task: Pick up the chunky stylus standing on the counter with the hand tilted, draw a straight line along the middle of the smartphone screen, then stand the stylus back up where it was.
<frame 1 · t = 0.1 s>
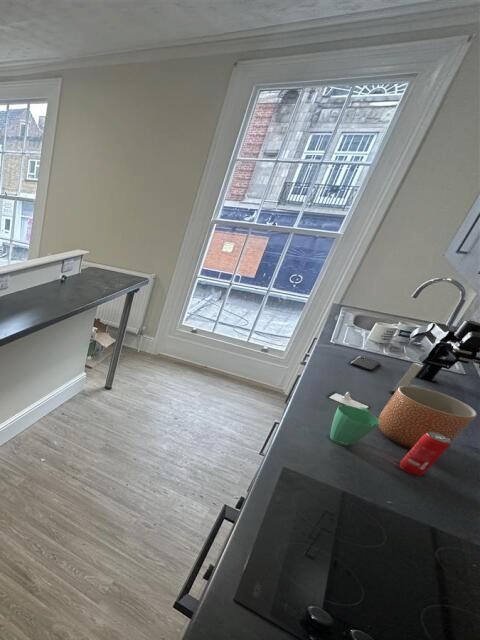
hand: (473, 364, 142), 17 cm above the worktop, tool horizontal, fingers open, 9 cm apart
smartphone: (364, 364, 176), on the worktop
beverage can: (409, 470, 114), on the worktop
adhesive hook: (348, 402, 145), on the worktop
planter: (402, 440, 127), on the worktop
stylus: (395, 394, 154), on the worktop
mug: (341, 438, 125), on the worktop
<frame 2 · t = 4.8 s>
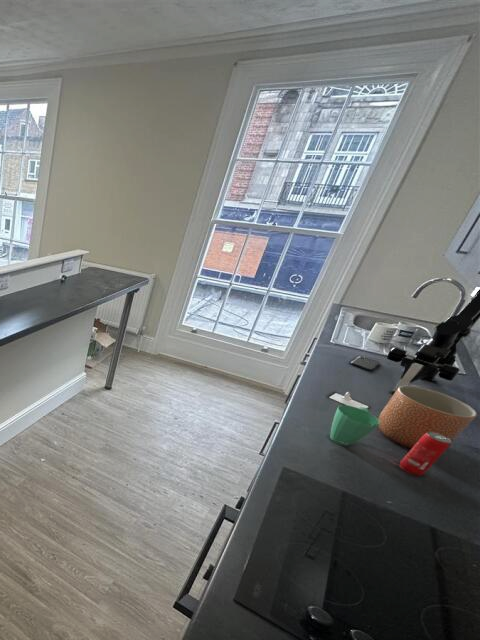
hand: (405, 380, 150), 7 cm above the worktop, tool tilted 45°, fingers closed on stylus, 2 cm apart
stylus: (395, 394, 154), on the worktop, touching gripper
everything else where it was.
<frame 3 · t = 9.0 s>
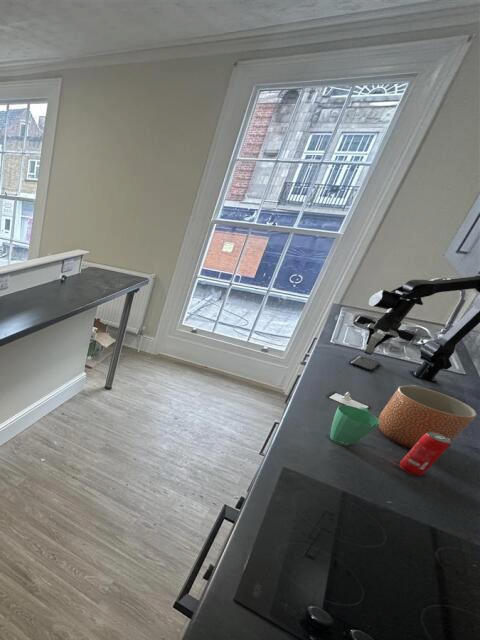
hand: (370, 346, 169), 10 cm above the worktop, tool pointing down, fingers closed on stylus, 2 cm apart
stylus: (369, 352, 174), point 6 cm above the worktop, tilted 42°, touching gripper
everything else where it was.
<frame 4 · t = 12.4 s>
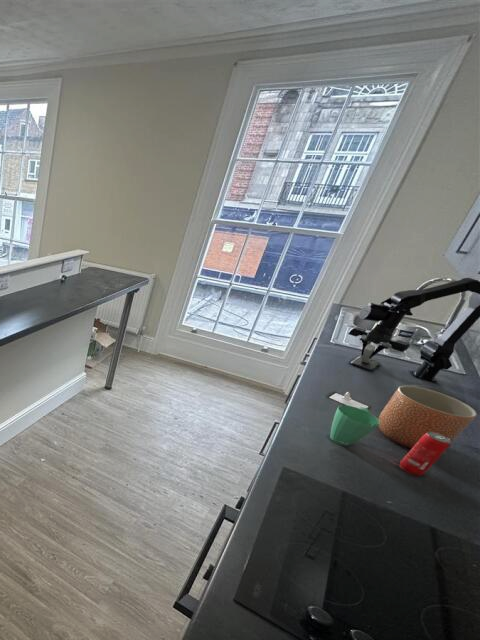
hand: (365, 356, 171), 5 cm above the worktop, tool pointing down, fingers closed on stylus, 2 cm apart
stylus: (366, 361, 176), point 1 cm above the worktop, tilted 48°, touching gripper
everything else where it was.
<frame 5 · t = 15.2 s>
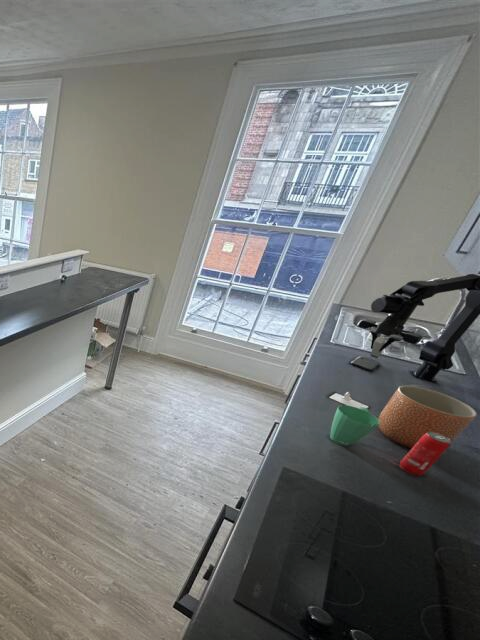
hand: (375, 350, 165), 10 cm above the worktop, tool pointing down, fingers closed on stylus, 2 cm apart
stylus: (375, 354, 169), point 6 cm above the worktop, tilted 48°, touching gripper
everything else where it was.
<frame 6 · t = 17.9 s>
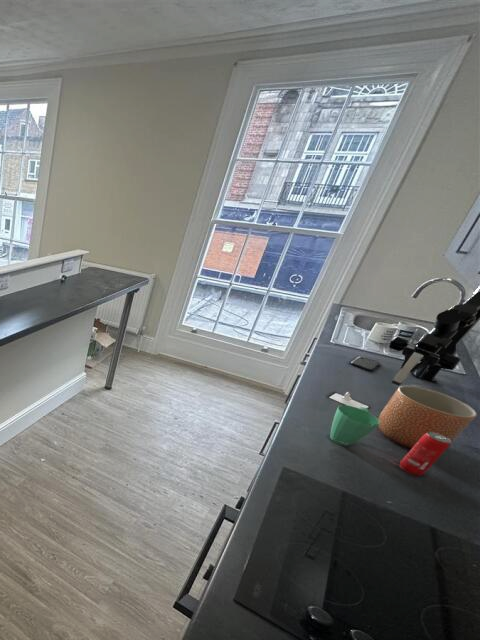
hand: (405, 370, 149), 10 cm above the worktop, tool tilted 40°, fingers closed on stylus, 2 cm apart
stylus: (396, 383, 154), point 3 cm above the worktop, tilted 7°, touching gripper
everything else where it was.
when the fingers open (7 cm above the worktop, at t = 20.0 s): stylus stays where it is, on the worktop.
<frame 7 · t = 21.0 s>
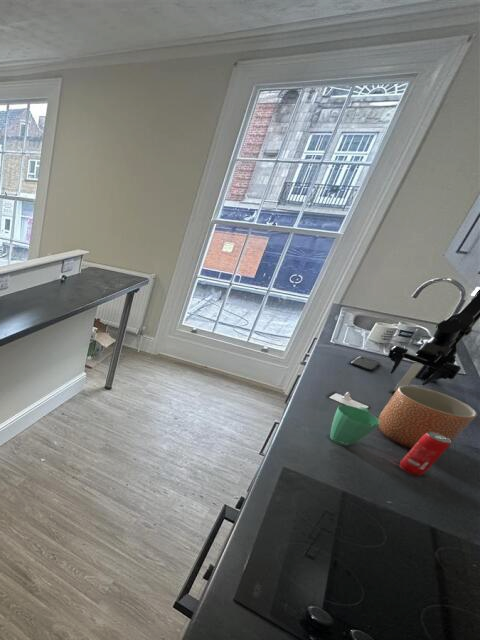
hand: (406, 378, 149), 7 cm above the worktop, tool tilted 45°, fingers open, 9 cm apart
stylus: (396, 393, 154), on the worktop
everything else where it was.
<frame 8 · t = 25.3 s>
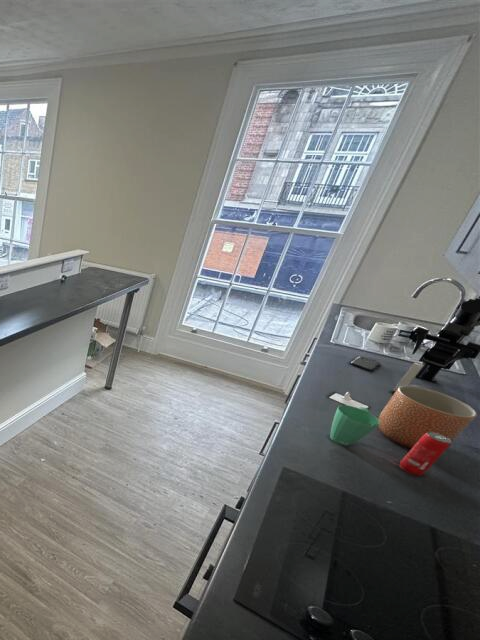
hand: (428, 358, 151), 14 cm above the worktop, tool tilted 45°, fingers open, 9 cm apart
nothing on the worktop moved.
at the end: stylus inside the target area (0.3 cm from its centre), on the worktop; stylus tilted 0°; smartphone moved 0.0 cm from its start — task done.
